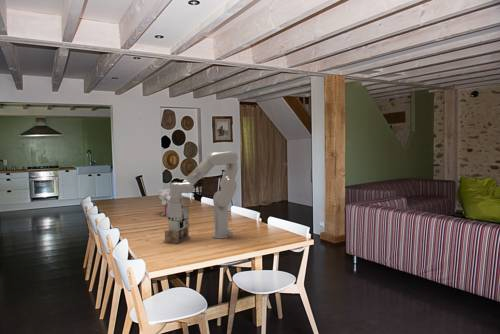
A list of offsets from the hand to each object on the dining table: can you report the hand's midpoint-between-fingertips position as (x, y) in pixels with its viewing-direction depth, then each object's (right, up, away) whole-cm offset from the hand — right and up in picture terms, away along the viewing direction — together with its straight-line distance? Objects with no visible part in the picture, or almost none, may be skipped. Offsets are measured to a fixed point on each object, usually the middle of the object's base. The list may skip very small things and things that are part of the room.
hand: (177, 227), depth 245 cm
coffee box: (-4, -7, +41) cm, 42 cm away
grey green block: (0, -1, 0) cm, 1 cm away
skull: (-24, -4, +89) cm, 92 cm away
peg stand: (0, -9, +1) cm, 9 cm away
